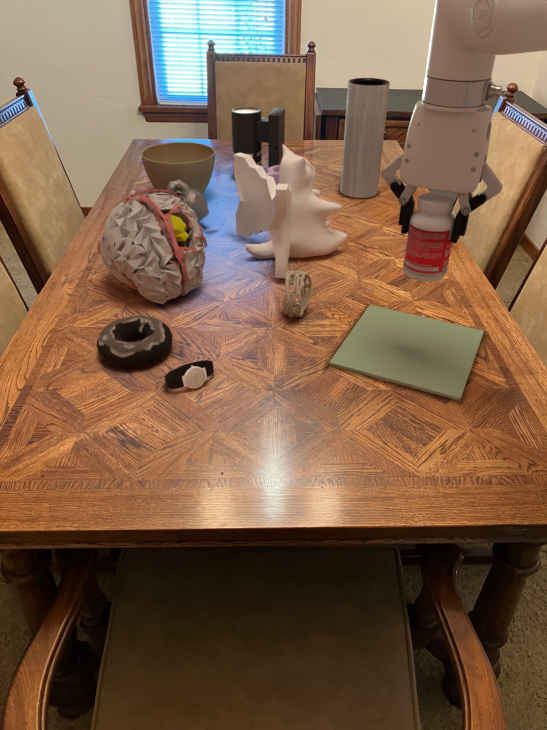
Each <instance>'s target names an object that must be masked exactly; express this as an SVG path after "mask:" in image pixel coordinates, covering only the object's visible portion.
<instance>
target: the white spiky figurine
mask: <svg viewBox="0 0 547 730" xmlns="http://www.w3.org/2000/svg"><path fill="white" fill-rule="evenodd" d="M282 148H283V158H282V161H281V164H280V170H279V184H277V186H276V183H275V181H274V178H273V177H272V176H268V175H267V174H266V173H267V172H266V171H265V169H264V167H263V165H262V166H259V165H256V163H255V161H254V160H253V158H252V156H251V155H247V154H244V153H237V154H233V153H232V160H233V159H234V173H233V178H234V177H235V178H234V181H235V185H236V189H237V193H238V198H239V201H238V202H239V203H238V206H237V208H236V212H235V233H236V234H237V235H239V236H242V237H245V238H248V237H250V236H253V235H258V234H260V233H263V232H267V233H268V232H269V237H270V239H269V240H268V241H266V242H262V243H256V244H254V243H247V244H245V251H246V253H248V254H250V255H251V256H253V257H255V258H256V259H261V260H264V259H275V261H274V263H275V267H274V268H275V271H274V272H275V274H274V276H275V278H277V279H285V273H286V272H287V271H288V264H289V258H293V259H304V258H308V257H316V256H325V255H329V254H330V253H333V252H334V251H335V250H336V249H338V248H339V247H340V246H341V245H343V244H344V242H346V241H347V239H348V234H347V233H344V232H343V231H341V230H337V229H332V228H329V227H330V225H331V221H329V220H328V218H329V217H330V216H331V215H333V214H334V213H337V212H338V211H339V210H341V209H342V208H343V206H342V205H341V204H339V203H337V202H332V201H329V200H326V199H322V198H319V196H320V195H321V190H320V189H318V188H313V187H314V184H315V179H316V168H315V167H314V166H313V165H312V164H311V162H310V161H309V160H308V158H306V157H305V156H301V155H298V154H296V153H294V152H293V151H292V150H290V149H289V148H288V147H287V145H285V143H284V144H283V145H282Z"/></svg>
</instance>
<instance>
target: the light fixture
mask: <svg viewBox="0 0 547 730" xmlns="http://www.w3.org/2000/svg"><path fill="white" fill-rule="evenodd" d="M230 117H231V118H230V119H231V141H232V143H231V144H232V155H233V154H237V153H244V154H247V155H251V156H252V158H253V160H254V161H255V163H256V165H259V166H262V167H263V162H262V161H263V153H262V151H263V150H262V148H263V147H262V145H263V143H267V144H268V149H267V151H268V152H267V153H268V154H267V155H268V157H267V159H268V161H267V163H268V165H267V166H268V167H267V169H268V168H269V167H272V166H275V165H280V164H281V161H282V158H283V148H282V145H283V144H284V145H285V133H286V132H285V130H286V129H285V128H286V108H285V107H274V108H273V109H272V110H271V111H270V113H269V114H268V115H267V117H262V109H260V108H258V107H253V106H240V107H235V108H232V109H231V111H230ZM232 161H233V163H232V169H233V174H234V159H233V158H232ZM233 178H234V179H235V177H234V176H233Z"/></svg>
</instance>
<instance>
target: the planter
mask: <svg viewBox="0 0 547 730" xmlns="http://www.w3.org/2000/svg"><path fill="white" fill-rule="evenodd" d="M390 85H391V81H389V80H387V79H384V78H378V77H377V78H376V77H357V78H351V79H349V80H348V81H347V89H346V90H347V91H346V102H345V104H346V105H345V118H344V119H345V120H344V131H343V143H342V144H343V146H342V159H341V172H340V186H339V187H340V190H339V191H340V193H341V194H342V195H343V196H345V197H349V198H354V199H368V198H373V197H374V196H377V195H378V191H379V182H380V176H381V167H382V159H383V158H382V157H383V148H384V140H385V139H384V137H385V130H386V123H387V122H386V121H387V113H388V103H389V93H390Z"/></svg>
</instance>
